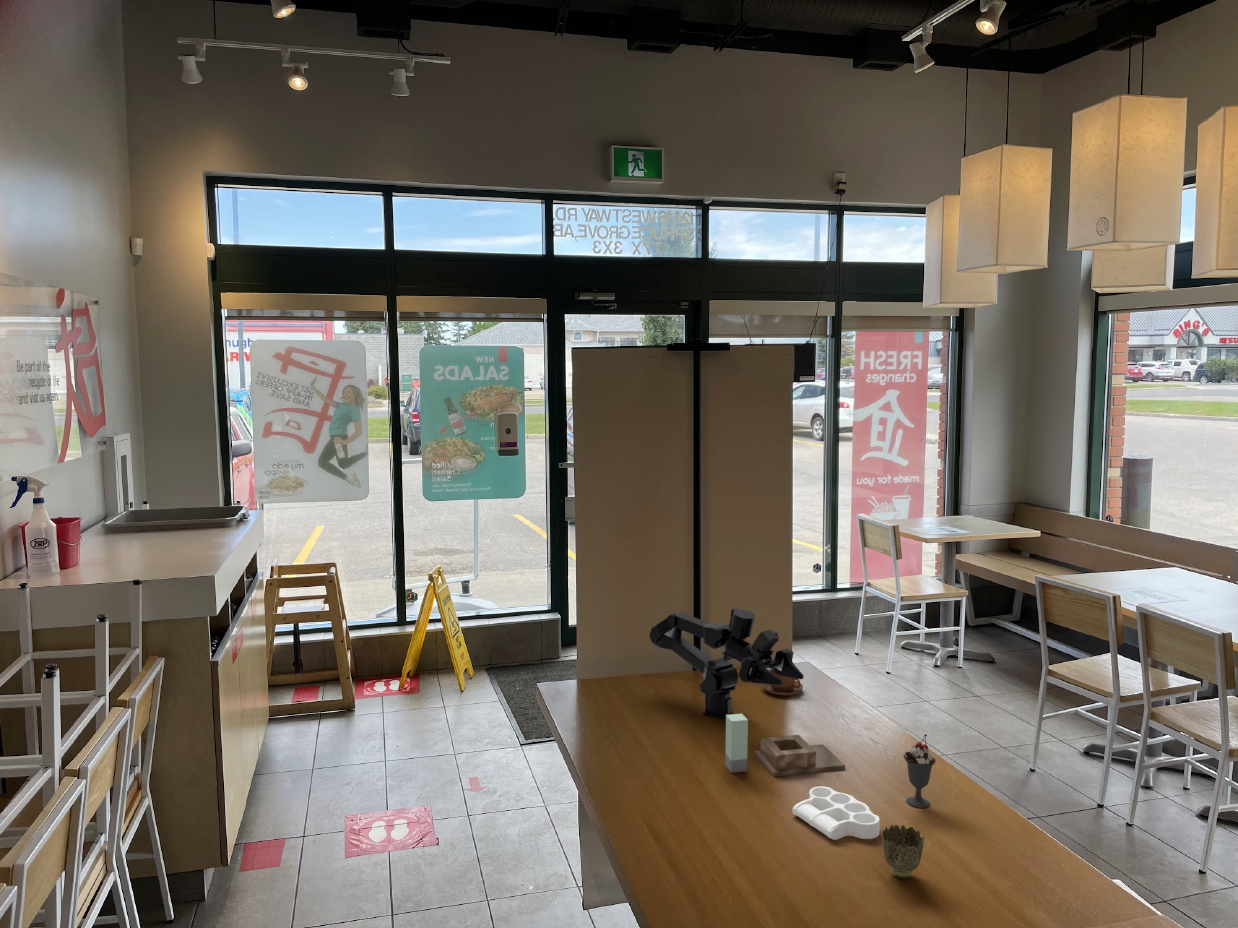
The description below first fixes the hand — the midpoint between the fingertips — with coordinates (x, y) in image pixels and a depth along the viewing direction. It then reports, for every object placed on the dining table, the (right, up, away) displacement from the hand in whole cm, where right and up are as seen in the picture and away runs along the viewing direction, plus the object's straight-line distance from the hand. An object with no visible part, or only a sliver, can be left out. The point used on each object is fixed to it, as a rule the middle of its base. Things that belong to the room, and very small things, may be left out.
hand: (792, 680), depth 218 cm
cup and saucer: (+5, -13, +38) cm, 40 cm away
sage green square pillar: (-16, -18, -13) cm, 27 cm away
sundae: (+21, -20, -30) cm, 42 cm away
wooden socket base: (0, -17, -9) cm, 20 cm away
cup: (+9, -22, -57) cm, 62 cm away
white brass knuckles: (+2, -21, -37) cm, 42 cm away
